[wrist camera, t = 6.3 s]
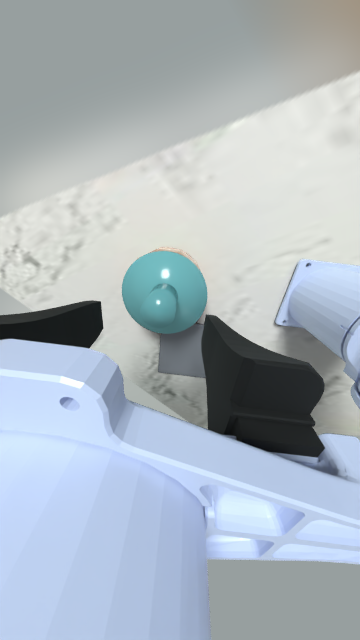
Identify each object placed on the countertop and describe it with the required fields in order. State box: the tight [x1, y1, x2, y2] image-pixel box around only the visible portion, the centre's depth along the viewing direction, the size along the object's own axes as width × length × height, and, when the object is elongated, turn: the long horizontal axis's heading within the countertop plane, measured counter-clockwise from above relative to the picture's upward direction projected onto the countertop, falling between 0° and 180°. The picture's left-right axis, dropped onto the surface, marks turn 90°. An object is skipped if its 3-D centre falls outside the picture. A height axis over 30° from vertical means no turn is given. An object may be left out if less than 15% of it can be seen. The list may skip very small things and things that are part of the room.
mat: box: [158, 323, 206, 378], centre depth 25 cm, size 9×9×1 cm
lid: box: [122, 251, 207, 334], centre depth 16 cm, size 9×9×5 cm
